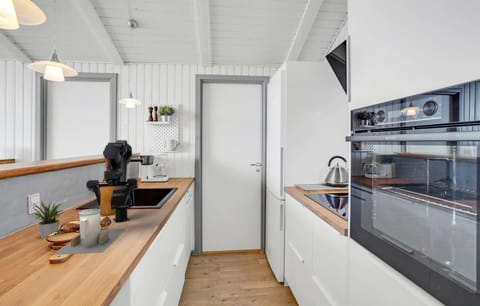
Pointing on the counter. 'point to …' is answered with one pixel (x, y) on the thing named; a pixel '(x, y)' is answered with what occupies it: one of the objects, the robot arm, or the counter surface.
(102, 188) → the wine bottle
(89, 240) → the white mug
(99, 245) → the holder
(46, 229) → the house plant
